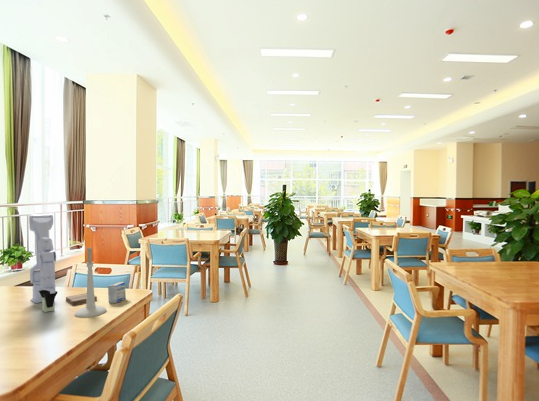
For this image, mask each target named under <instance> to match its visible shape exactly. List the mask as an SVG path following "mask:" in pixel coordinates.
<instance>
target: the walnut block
mask: <svg viewBox="0 0 539 401" xmlns="http://www.w3.org/2000/svg"><path fill="white" fill-rule="evenodd" d="M94 298H95V302H96V301H98V297H97V295H95V294H94ZM86 300H87V292H83V293H79V294H76V295H75V294H74V295H70V296H66V297H65V302H67V303H68V304H70V305H72V306H78V305H82V304H86Z"/></svg>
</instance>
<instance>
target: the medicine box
mask: <svg viewBox="0 0 539 401" xmlns="http://www.w3.org/2000/svg"><path fill="white" fill-rule="evenodd" d="M107 288H108V289H107V291H108V292H107V294H108V296H107V297H108V303H110V304H118V303H120V302H122V301H124V300H126V282H124V281H118V282H115V283H112V284H110V285H108V287H107ZM123 299H124V300H123ZM121 300H122V301H121ZM119 301H120V302H119ZM117 302H118V303H117Z"/></svg>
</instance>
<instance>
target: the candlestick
mask: <svg viewBox="0 0 539 401" xmlns="http://www.w3.org/2000/svg"><path fill="white" fill-rule="evenodd" d="M86 251H87V252H86V254H87V255H86V257H87V259H86V260H87V261H86V262H85V264H86V268H87V273H86V274H87V276H86V277H87V278H86V279H87V280H86V293H87V300H86V303H85V304H86V305H85V306H83V307H81V308H79V309H77V310H76V311H75V312H74V317H76V318H81V319H82V318H83V319H85V318H86V319H87V318H92V317H97V316H101V315H104V314H105V313H106V312H107V307H104V306H102V305H96V301H95V298H94V295H95V286H94V274H93V273H94V272H93V271H94V270H93V267H94V263H95V262H94V261H93V247H86Z"/></svg>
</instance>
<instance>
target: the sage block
mask: <svg viewBox="0 0 539 401" xmlns="http://www.w3.org/2000/svg"><path fill="white" fill-rule="evenodd" d="M55 302H56V300H55V299H54V303H53V307H49V308H47V305H46V300H45V297H42V302H41V310H42V312H43V313H48V312H52V311H55V310H56V307H55Z"/></svg>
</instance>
